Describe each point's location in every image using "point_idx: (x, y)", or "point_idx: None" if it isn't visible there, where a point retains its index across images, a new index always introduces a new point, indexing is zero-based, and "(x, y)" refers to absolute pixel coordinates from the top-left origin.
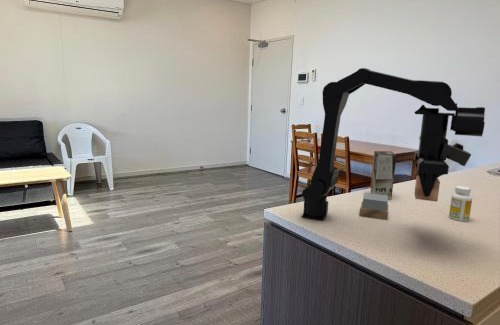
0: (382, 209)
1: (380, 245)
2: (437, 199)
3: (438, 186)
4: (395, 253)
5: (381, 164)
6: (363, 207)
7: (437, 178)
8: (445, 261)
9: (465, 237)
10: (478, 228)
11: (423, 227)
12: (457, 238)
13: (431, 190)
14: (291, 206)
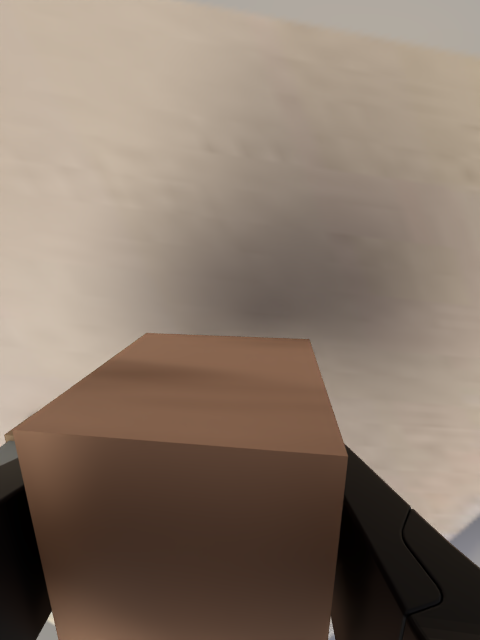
0: None
1: (391, 456)
2: (309, 346)
3: (335, 422)
4: (449, 417)
5: None
6: None
7: (63, 441)
8: (474, 257)
9: (173, 138)
10: (19, 55)
11: (137, 301)
12: (202, 176)
13: (359, 459)
14: None
